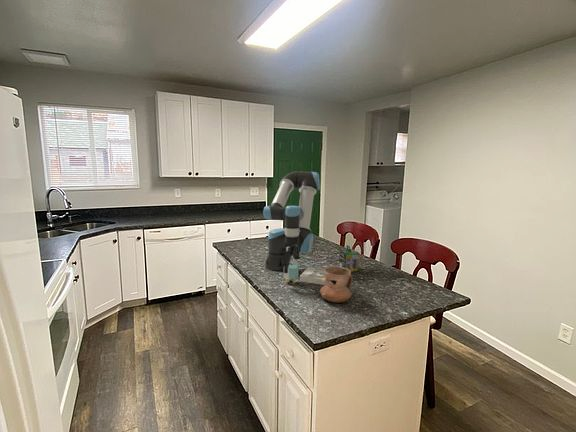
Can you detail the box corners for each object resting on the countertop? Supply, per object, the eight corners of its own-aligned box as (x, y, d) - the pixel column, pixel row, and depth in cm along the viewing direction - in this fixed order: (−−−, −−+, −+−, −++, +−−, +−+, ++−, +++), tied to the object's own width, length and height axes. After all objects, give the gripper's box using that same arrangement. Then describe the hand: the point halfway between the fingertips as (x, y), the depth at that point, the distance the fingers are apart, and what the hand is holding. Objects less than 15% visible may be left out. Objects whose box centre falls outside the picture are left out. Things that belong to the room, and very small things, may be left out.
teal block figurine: (283, 282, 164) (283, 267, 163) (286, 279, 169) (287, 264, 168) (295, 284, 162) (295, 269, 161) (298, 281, 167) (298, 266, 165)
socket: (299, 281, 167) (299, 274, 166) (308, 271, 182) (308, 265, 181) (336, 287, 160) (336, 280, 159) (342, 276, 175) (342, 270, 174)
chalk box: (359, 271, 185) (360, 247, 182) (345, 272, 182) (346, 248, 180) (351, 266, 193) (353, 243, 191) (338, 267, 191) (339, 244, 188)
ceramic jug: (330, 308, 136) (332, 278, 133) (311, 296, 148) (313, 267, 146) (361, 301, 145) (363, 272, 142) (341, 290, 157) (343, 263, 155)
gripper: (290, 241, 148) (289, 283, 152) (306, 231, 172) (304, 268, 175) (276, 239, 151) (275, 281, 154) (293, 230, 174) (292, 266, 177)
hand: (290, 274), depth 165 cm, fingers open, 13 cm apart
